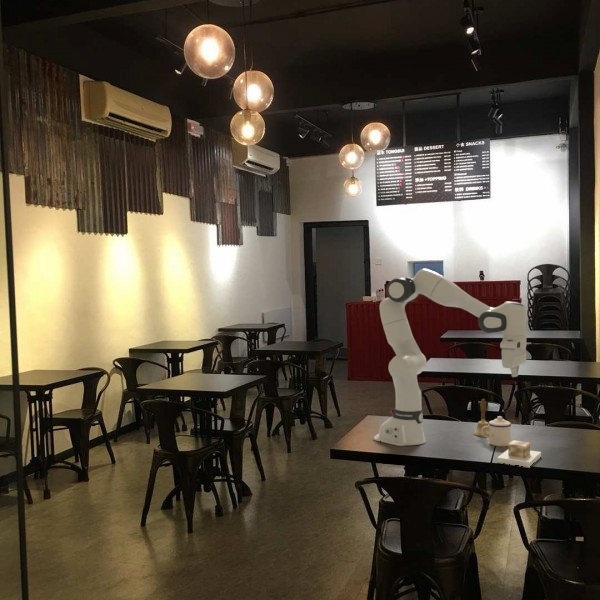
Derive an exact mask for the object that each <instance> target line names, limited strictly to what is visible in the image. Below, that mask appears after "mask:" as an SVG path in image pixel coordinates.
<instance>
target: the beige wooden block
mask: <svg viewBox="0 0 600 600" xmlns="http://www.w3.org/2000/svg"><path fill="white" fill-rule="evenodd" d="M507 450H508V455H509V456H515V457H522V458H526V457H527V456H528V455H529V454H530V450H531V442H529V441H521V440H514V439H513V440H511V442H510V443H509V444H508V446H507Z"/></svg>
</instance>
